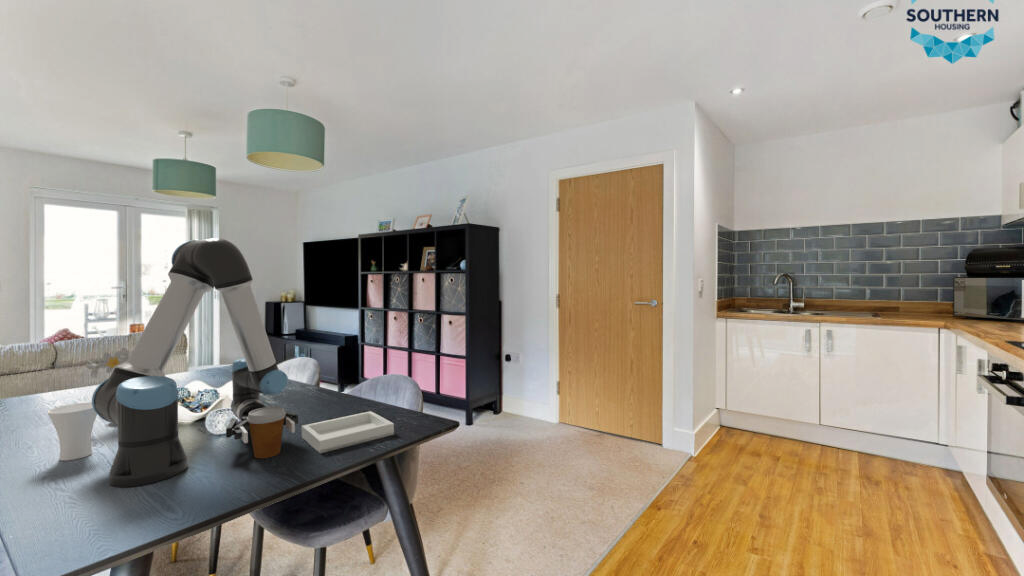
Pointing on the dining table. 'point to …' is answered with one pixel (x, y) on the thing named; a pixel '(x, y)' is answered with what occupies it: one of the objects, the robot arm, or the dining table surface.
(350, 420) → the tray
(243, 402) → the robot arm
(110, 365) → the flower vase
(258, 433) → the disposable coffee cup
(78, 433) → the cup
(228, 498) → the dining table surface
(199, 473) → the dining table surface
